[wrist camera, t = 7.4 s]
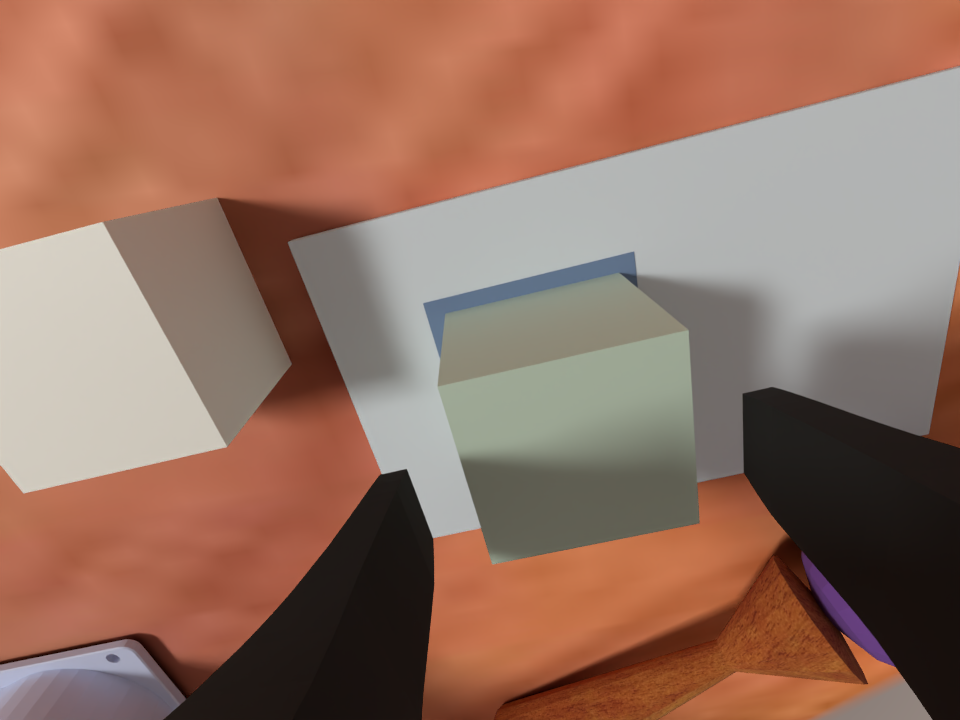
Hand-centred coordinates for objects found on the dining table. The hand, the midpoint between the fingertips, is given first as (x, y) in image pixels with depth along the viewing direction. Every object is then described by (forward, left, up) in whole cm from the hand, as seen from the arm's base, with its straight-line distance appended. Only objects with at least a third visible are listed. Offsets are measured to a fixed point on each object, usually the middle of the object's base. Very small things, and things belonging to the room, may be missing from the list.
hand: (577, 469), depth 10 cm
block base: (0, 0, -5) cm, 5 cm away
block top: (-10, +5, -5) cm, 12 cm away
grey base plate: (+3, 0, -5) cm, 6 cm away
